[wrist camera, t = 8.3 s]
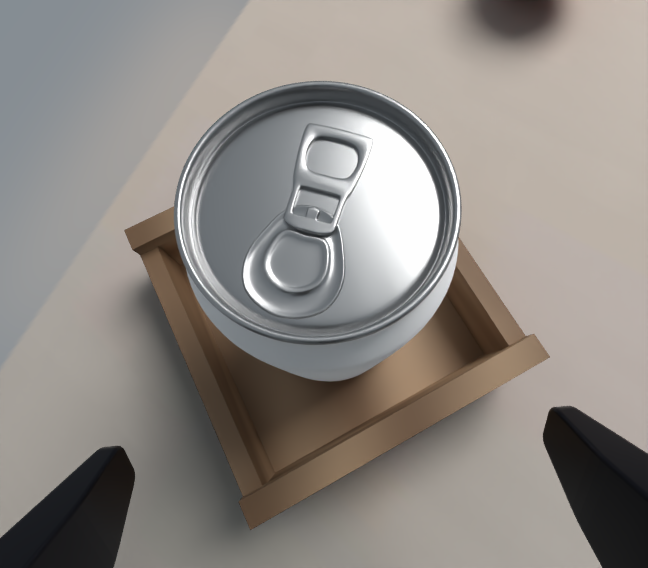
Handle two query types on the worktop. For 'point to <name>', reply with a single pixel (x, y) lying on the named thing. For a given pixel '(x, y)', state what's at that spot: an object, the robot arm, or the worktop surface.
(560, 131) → the worktop surface
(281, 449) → the tray
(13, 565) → the robot arm
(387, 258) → the can
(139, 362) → the worktop surface
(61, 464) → the worktop surface
